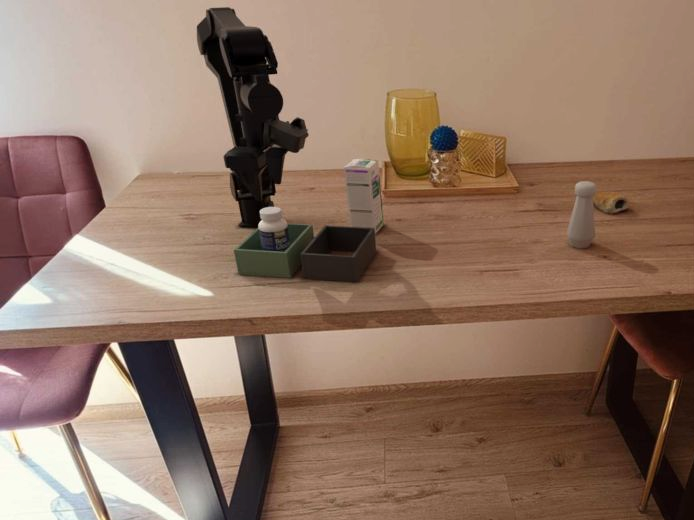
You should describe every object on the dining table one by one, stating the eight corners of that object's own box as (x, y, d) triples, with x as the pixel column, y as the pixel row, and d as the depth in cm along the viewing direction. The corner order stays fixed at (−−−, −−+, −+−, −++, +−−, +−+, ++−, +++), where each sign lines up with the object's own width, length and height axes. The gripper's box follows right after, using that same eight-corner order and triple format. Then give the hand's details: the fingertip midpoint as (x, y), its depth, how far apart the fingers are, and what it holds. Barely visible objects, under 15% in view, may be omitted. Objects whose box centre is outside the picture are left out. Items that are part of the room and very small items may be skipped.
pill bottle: (281, 265, 123) (273, 217, 117) (258, 260, 125) (249, 212, 119) (297, 254, 127) (290, 207, 122) (275, 250, 129) (267, 203, 123)
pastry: (584, 202, 154) (585, 187, 152) (606, 198, 157) (608, 183, 155) (609, 215, 147) (611, 199, 145) (631, 210, 150) (634, 194, 148)
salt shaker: (596, 241, 134) (603, 180, 127) (591, 251, 130) (599, 189, 123) (568, 237, 136) (574, 177, 129) (563, 247, 131) (569, 185, 124)
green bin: (238, 274, 121) (233, 249, 118) (268, 244, 132) (264, 221, 130) (290, 277, 119) (286, 253, 117) (315, 247, 131) (312, 224, 129)
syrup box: (376, 234, 137) (370, 167, 129) (349, 232, 138) (343, 165, 130) (384, 224, 142) (379, 159, 134) (358, 222, 143) (352, 157, 135)
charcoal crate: (303, 278, 119) (300, 254, 116) (327, 248, 131) (325, 225, 128) (356, 282, 118) (354, 257, 115) (376, 251, 130) (374, 227, 127)
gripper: (277, 121, 105) (291, 212, 114) (316, 97, 121) (325, 178, 129) (214, 118, 107) (232, 208, 115) (259, 95, 122) (272, 175, 131)
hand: (269, 191), depth 122 cm, fingers open, 9 cm apart
